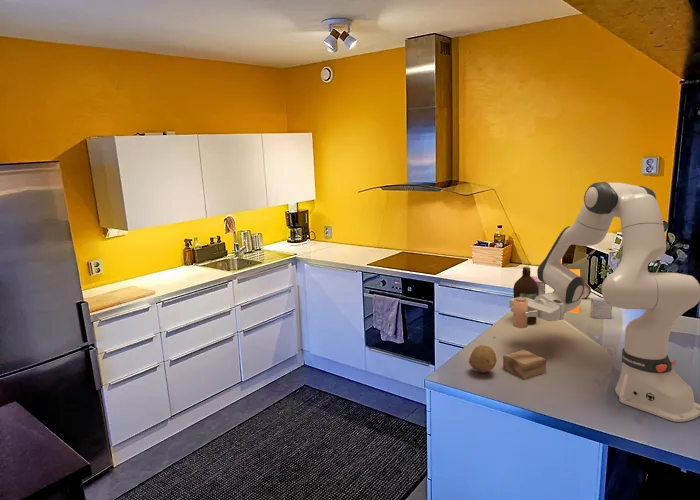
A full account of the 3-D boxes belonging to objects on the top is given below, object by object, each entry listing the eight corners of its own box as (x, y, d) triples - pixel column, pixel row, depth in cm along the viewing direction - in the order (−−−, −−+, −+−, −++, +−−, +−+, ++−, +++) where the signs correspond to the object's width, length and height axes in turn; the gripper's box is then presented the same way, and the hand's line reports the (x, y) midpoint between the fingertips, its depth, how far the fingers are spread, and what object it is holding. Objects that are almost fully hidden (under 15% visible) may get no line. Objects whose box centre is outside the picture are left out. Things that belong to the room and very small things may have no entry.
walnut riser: (545, 372, 164) (546, 358, 163) (524, 379, 160) (524, 365, 159) (523, 361, 173) (524, 349, 172) (503, 368, 168) (503, 355, 167)
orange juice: (579, 312, 221) (581, 271, 217) (558, 311, 224) (560, 270, 220) (576, 307, 228) (578, 267, 225) (557, 306, 231) (558, 266, 227)
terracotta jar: (530, 326, 176) (530, 298, 174) (520, 329, 174) (520, 301, 172) (519, 322, 181) (520, 295, 179) (510, 325, 179) (510, 297, 177)
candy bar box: (529, 308, 230) (530, 276, 227) (540, 308, 229) (541, 276, 226) (533, 316, 219) (534, 282, 216) (544, 316, 218) (546, 282, 215)
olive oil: (510, 317, 219) (511, 265, 214) (533, 317, 218) (535, 264, 213) (515, 325, 208) (517, 270, 203) (540, 325, 207) (542, 270, 202)
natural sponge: (501, 376, 162) (502, 349, 160) (477, 380, 160) (477, 352, 158) (488, 365, 171) (489, 339, 169) (466, 369, 169) (466, 342, 167)
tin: (590, 298, 241) (591, 282, 239) (590, 300, 238) (590, 284, 237) (558, 295, 249) (559, 279, 247) (557, 296, 246) (558, 281, 245)
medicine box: (609, 316, 215) (610, 297, 213) (611, 319, 211) (612, 300, 209) (590, 315, 217) (591, 297, 216) (592, 318, 213) (593, 300, 211)
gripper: (524, 291, 190) (498, 297, 185) (567, 304, 172) (540, 311, 167) (524, 306, 192) (498, 312, 186) (567, 320, 174) (539, 328, 168)
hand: (518, 312), depth 176 cm, fingers closed on terracotta jar, 5 cm apart
